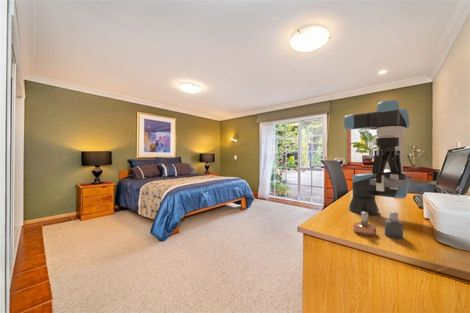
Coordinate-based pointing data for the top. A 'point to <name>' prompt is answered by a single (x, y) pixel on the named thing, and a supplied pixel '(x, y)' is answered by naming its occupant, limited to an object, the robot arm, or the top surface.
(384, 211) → the top surface
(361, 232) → the hub
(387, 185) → the hollow square frame
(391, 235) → the stand
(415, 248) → the top surface
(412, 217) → the top surface
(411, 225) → the top surface
